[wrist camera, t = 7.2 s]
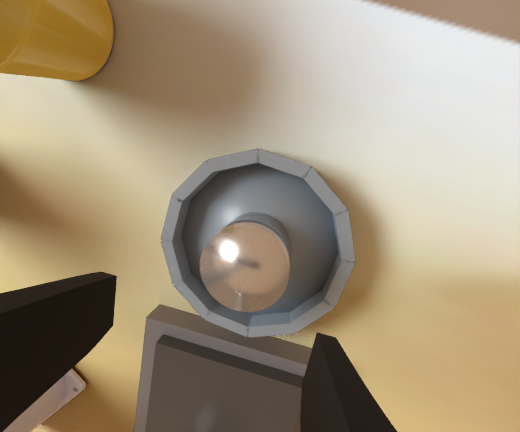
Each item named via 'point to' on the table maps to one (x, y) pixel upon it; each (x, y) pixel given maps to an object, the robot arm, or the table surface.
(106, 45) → the plant pot
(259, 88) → the table surface
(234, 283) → the tan glossy rounded piece
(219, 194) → the tray
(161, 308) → the scale
